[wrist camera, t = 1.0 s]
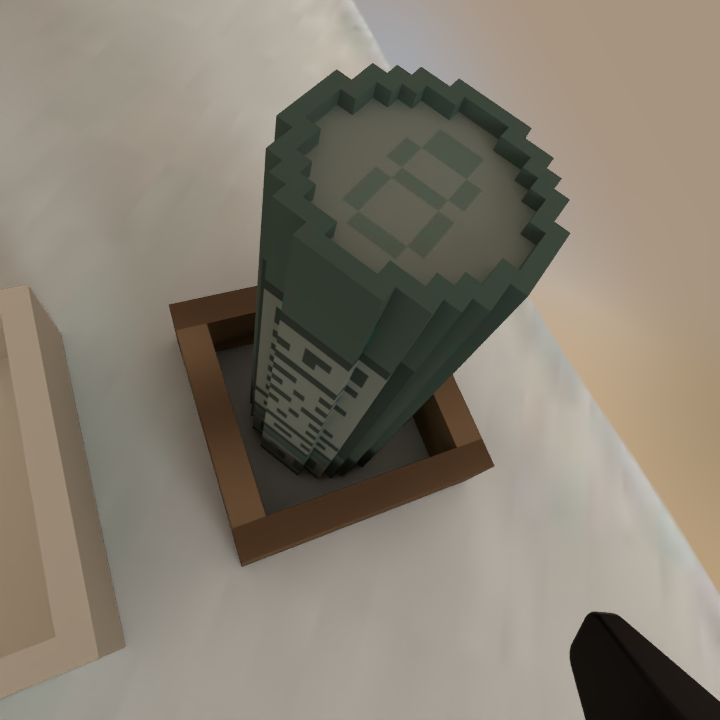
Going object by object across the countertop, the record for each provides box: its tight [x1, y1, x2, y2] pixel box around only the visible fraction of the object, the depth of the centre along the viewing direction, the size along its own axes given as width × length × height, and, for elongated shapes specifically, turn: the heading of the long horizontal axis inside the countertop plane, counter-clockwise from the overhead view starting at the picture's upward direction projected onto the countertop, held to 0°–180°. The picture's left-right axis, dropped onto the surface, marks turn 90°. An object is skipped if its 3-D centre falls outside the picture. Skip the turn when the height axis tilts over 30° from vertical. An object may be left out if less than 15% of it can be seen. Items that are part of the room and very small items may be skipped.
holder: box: [169, 286, 494, 567], centre depth 23 cm, size 10×10×3 cm
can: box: [250, 63, 570, 479], centre depth 17 cm, size 6×6×15 cm
